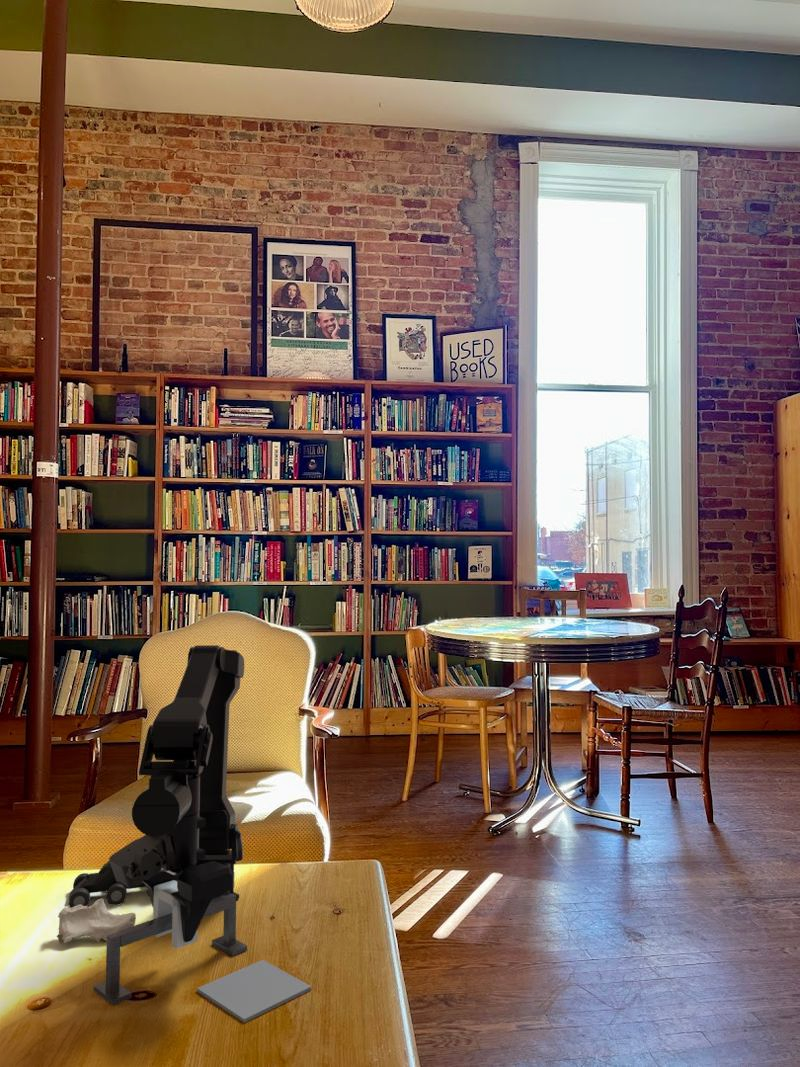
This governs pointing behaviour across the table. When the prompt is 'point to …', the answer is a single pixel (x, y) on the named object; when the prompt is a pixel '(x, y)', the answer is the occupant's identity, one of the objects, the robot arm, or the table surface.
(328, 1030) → the table surface
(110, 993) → the stand
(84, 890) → the toy vehicle
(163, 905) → the c link
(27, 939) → the table surface
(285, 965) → the table surface
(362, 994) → the table surface
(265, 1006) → the mat
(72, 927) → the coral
